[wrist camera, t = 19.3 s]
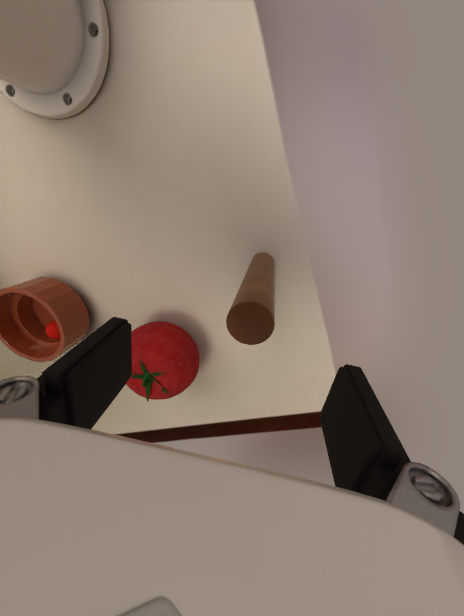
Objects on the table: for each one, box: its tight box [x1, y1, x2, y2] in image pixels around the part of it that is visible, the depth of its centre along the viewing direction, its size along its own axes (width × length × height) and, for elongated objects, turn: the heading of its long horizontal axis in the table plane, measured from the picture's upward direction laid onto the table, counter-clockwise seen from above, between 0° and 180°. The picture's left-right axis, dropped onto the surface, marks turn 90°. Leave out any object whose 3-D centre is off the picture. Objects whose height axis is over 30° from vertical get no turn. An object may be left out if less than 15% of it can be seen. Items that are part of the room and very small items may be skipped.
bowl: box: [0, 277, 90, 362], centre depth 30 cm, size 9×9×5 cm
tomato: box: [126, 321, 199, 402], centre depth 28 cm, size 9×9×8 cm
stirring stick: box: [226, 252, 275, 345], centre depth 20 cm, size 2×2×15 cm
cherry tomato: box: [46, 320, 61, 339], centre depth 31 cm, size 2×2×2 cm
